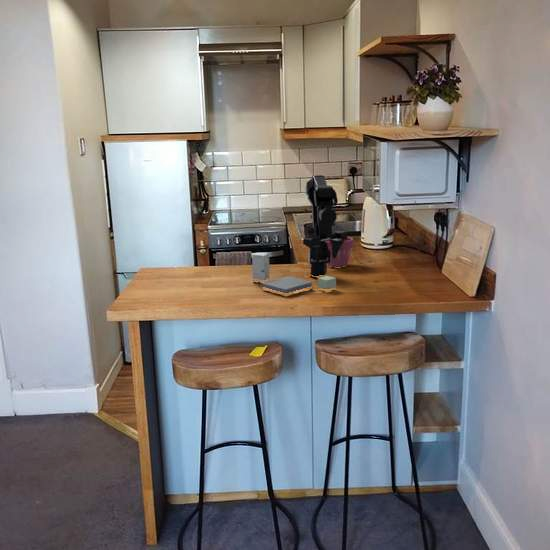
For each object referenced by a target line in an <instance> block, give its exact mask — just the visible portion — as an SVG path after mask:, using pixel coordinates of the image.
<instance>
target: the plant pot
mask: <svg viewBox="0 0 550 550" xmlns="http://www.w3.org/2000/svg"><path fill="white" fill-rule="evenodd" d="M325 242H326V243H327V244H328V249H329V250H330V252H331V256H330V262H329V263H327V265H328V266H332V267H343V266H347V267H348V264H349V261H350V255H351V251H352V248H353V247H354V238H353V237H349V236H347V239H345V242H343V244H342V246H341V248H340V250H339V252H338V254H337V256H336V258H335V259H334V258H333V256H332V244H331V242H330V240H327V241H325ZM328 266H327V267H328Z"/></svg>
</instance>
